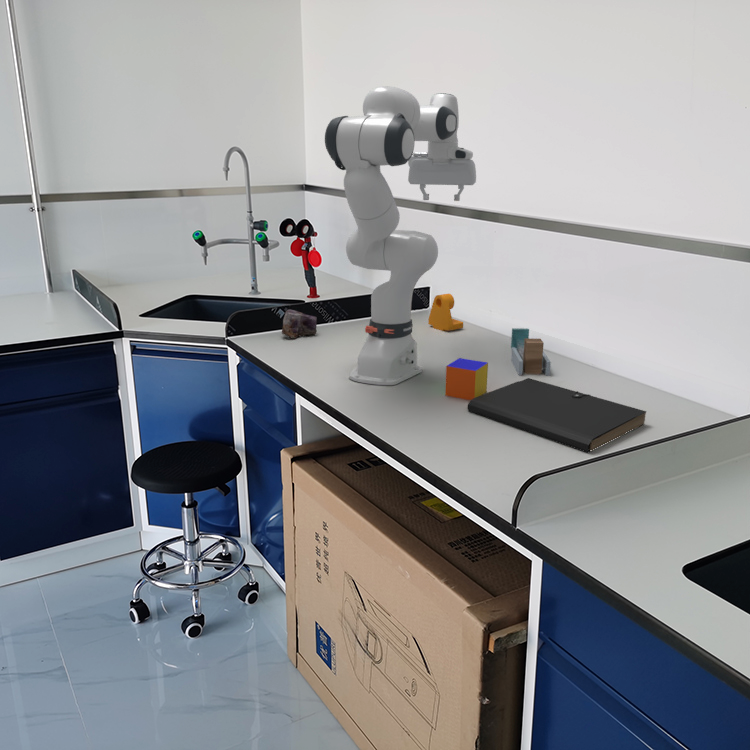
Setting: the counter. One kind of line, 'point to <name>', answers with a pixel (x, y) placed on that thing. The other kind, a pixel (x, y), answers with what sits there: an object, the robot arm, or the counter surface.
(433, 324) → the bracket
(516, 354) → the channel
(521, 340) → the teal headed mallet
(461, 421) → the counter surface
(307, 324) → the rock
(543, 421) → the black book
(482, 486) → the counter surface
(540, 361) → the walnut block
